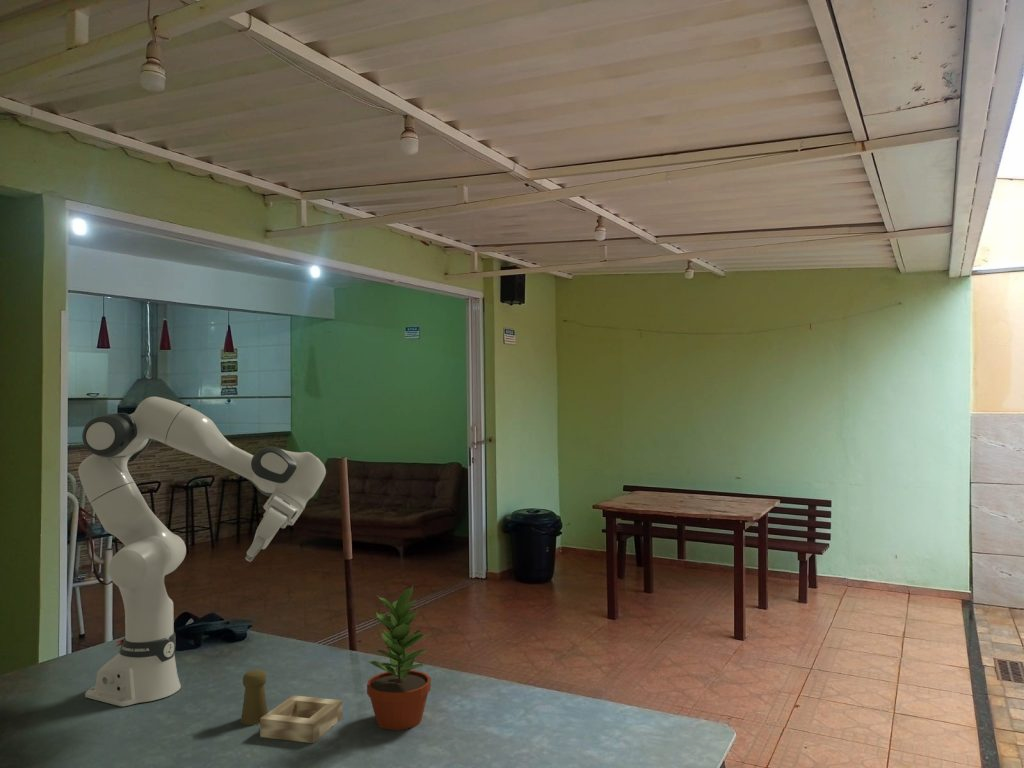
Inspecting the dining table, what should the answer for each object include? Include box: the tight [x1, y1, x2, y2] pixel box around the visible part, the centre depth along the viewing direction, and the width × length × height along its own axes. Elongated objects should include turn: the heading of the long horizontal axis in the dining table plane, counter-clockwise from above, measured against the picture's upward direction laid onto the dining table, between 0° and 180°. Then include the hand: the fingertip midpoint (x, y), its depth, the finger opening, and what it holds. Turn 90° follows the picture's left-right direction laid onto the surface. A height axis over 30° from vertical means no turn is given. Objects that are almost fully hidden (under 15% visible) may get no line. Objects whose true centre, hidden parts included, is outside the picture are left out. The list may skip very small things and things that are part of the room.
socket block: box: [259, 694, 344, 744], centre depth 166 cm, size 13×13×4 cm
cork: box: [240, 669, 269, 726], centre depth 170 cm, size 6×6×11 cm
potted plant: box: [366, 585, 432, 731], centre depth 169 cm, size 15×15×30 cm
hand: (248, 557), depth 181 cm, fingers open, 8 cm apart
